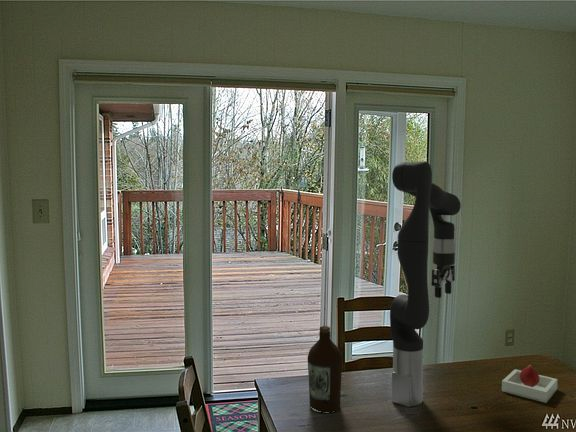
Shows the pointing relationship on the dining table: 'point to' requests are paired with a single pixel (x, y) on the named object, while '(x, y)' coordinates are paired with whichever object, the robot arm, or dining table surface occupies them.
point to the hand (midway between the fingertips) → (443, 295)
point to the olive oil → (325, 373)
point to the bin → (538, 392)
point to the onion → (529, 376)
